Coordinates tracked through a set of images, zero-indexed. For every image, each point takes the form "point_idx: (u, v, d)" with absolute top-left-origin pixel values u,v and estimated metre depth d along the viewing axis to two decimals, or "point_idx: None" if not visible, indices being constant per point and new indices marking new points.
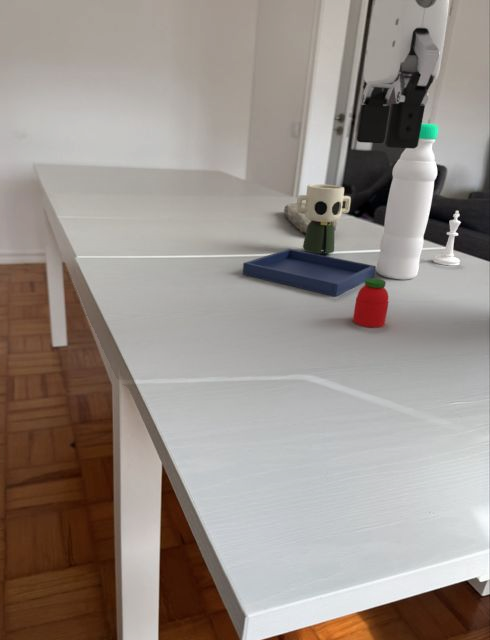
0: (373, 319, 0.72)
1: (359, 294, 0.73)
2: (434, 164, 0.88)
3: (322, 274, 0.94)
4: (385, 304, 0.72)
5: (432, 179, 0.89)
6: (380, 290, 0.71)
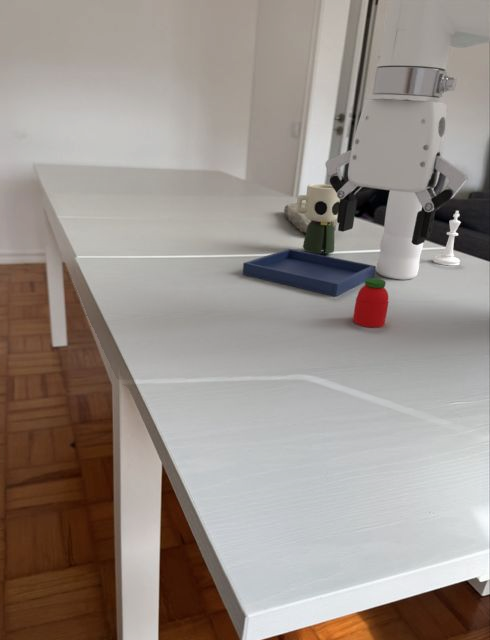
0: (373, 319, 0.72)
1: (359, 294, 0.73)
2: None
3: (322, 274, 0.94)
4: (385, 304, 0.72)
5: None
6: (380, 290, 0.71)
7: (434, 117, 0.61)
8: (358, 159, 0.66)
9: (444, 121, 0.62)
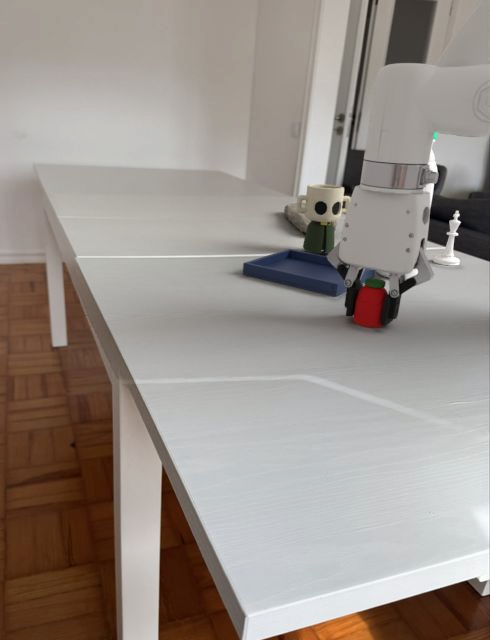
0: (373, 319, 0.72)
1: (359, 294, 0.73)
2: (434, 164, 0.88)
3: (322, 274, 0.94)
4: None
5: None
6: (380, 290, 0.71)
7: (418, 208, 0.65)
8: (348, 241, 0.70)
9: (428, 209, 0.66)
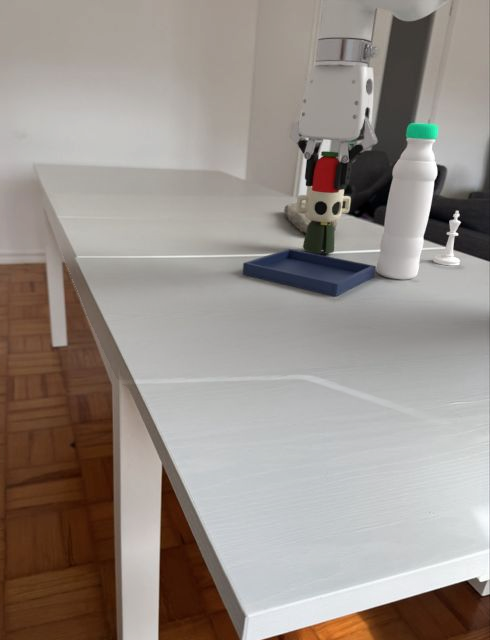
0: (328, 185, 0.84)
1: (316, 164, 0.85)
2: (434, 164, 0.88)
3: (322, 274, 0.94)
4: None
5: (432, 179, 0.89)
6: (334, 159, 0.83)
7: (362, 78, 0.77)
8: (306, 115, 0.83)
9: (371, 82, 0.78)
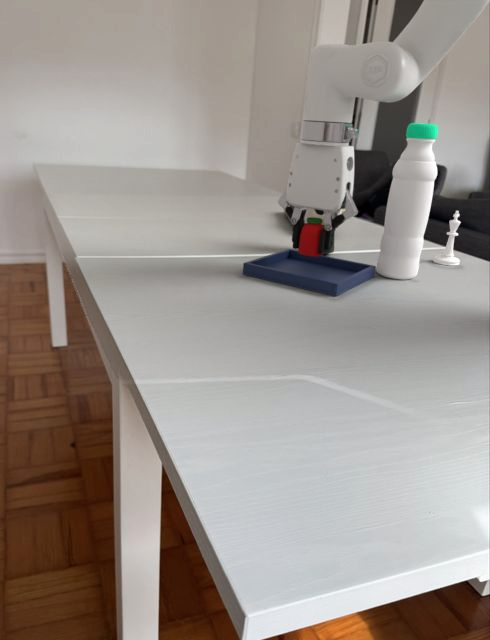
0: (313, 249, 0.91)
1: (302, 230, 0.91)
2: (434, 164, 0.88)
3: (322, 274, 0.94)
4: None
5: (432, 179, 0.89)
6: (318, 226, 0.90)
7: (343, 157, 0.83)
8: (292, 186, 0.89)
9: (352, 159, 0.85)
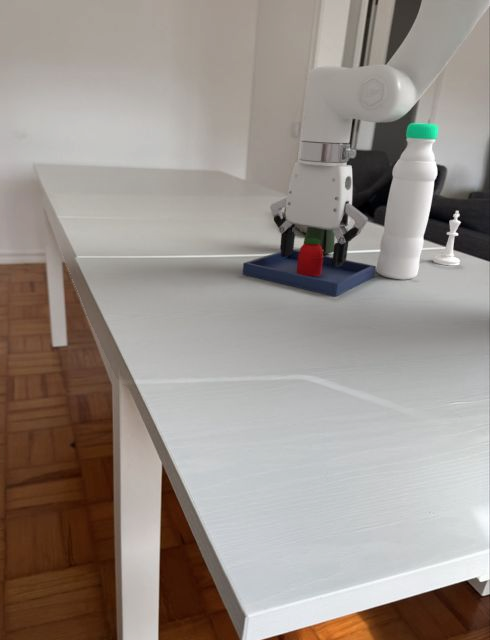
0: (311, 269, 0.92)
1: (300, 250, 0.93)
2: (434, 164, 0.88)
3: (322, 274, 0.94)
4: (320, 257, 0.92)
5: (432, 179, 0.89)
6: (316, 246, 0.91)
7: (341, 177, 0.84)
8: (291, 205, 0.90)
9: (350, 178, 0.86)
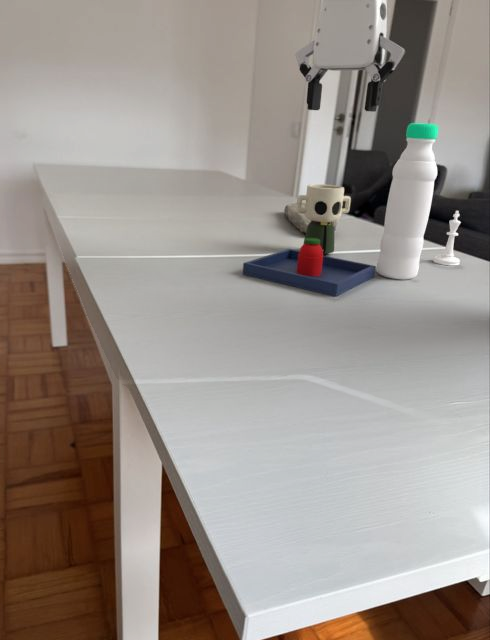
0: (311, 269, 0.92)
1: (300, 250, 0.93)
2: (434, 164, 0.88)
3: (322, 274, 0.94)
4: (320, 257, 0.92)
5: (432, 179, 0.89)
6: (316, 246, 0.91)
7: (376, 2, 0.78)
8: (320, 45, 0.84)
9: (385, 7, 0.80)
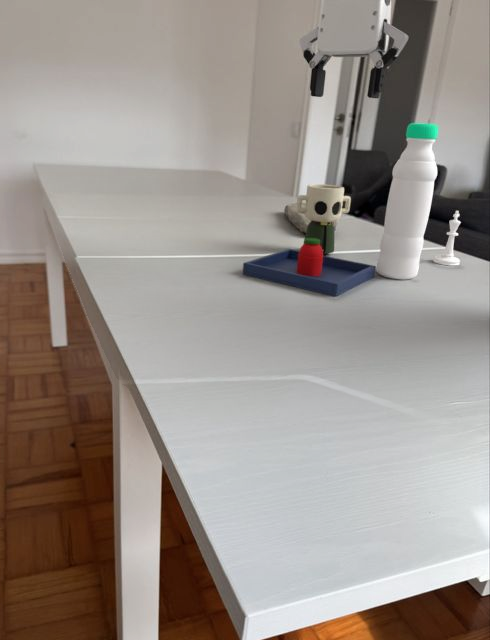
0: (311, 269, 0.92)
1: (300, 250, 0.93)
2: (434, 164, 0.88)
3: (322, 274, 0.94)
4: (320, 257, 0.92)
5: (432, 179, 0.89)
6: (316, 246, 0.91)
7: None
8: (324, 31, 0.84)
9: None
